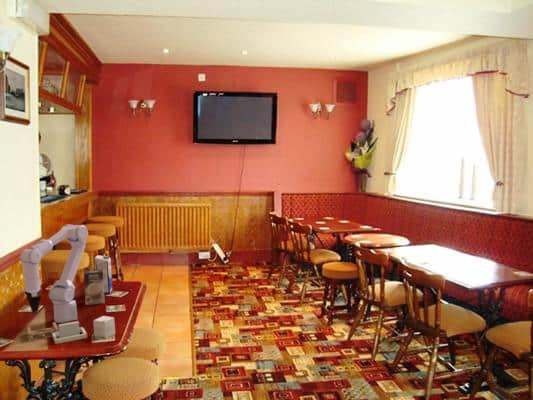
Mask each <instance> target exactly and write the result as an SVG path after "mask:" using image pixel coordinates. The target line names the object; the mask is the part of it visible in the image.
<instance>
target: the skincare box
mask: <svg viewBox="0 0 533 400" xmlns="http://www.w3.org/2000/svg"><path fill="white" fill-rule="evenodd" d="M92 322H93V334H94V335H93V336H94V337H102V338H110V337H112V336H114V335H115V334H116V325H115V317H114V316H106V315H102V316H99V317H98V318H95V319H94V320H93V321H92Z"/></svg>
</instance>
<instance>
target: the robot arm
mask: <svg viewBox="0 0 533 400" xmlns="http://www.w3.org/2000/svg"><path fill="white" fill-rule="evenodd" d="M88 236H89V231H88V228H87V227H86V226H85V225H83V224H79V225H78V224H69V223H68V224H65V225H64V226H62V227H61V229H59V231H57V233H55V234H54V235H52V236H51V237H50V238H49V239H45V238H44V239H40V240H39V242H37V243H35V244H34V245H31V246H30V248H25V249H23V250H22V251H21V253H20V256H19V257H18V258H19V261H20V262H21V263H22V267H23V277H24V288H22V289H21V292H24V293H25V297H26V299H27V301H28V304H29V306H30V309H31V313H38V311H39V306H40V301H41V299H42V294H39V292H40V290H41V282H40V280H41V279H40V269H39V268H40V266H39V264H40V262H41V260H42V258H43V257H44V256H45V255H47V254H49V253H50V252H51V251H53V247H54V246H56V245H57V244H59V243H61V242H62V241H64V240H65V239H66V240H67V242H69V244H70V246H71V249H70V251H69V254H68V256H67V258H66V262H65V265H64V267H63V270H62V273H61V274H60V275H61V276H60V278H59V280H56V282H54V284H53V286H52V287H51V288H50V290H49V292H48V297H49V299H50V300H51V303H52V304H53V317H54V322H55V323H56V324H57V323H58V324H59V323H60V324H64V323H69V322H71V321H72V322H73V321H75V320H76V321H78V309H77V303H76V300H75V299H74V297H75V290H76V286H75V285H74V283H73V282H74V278H75V276H76V274H77V270H78V268H79V265H80V262H81V259H82V257H83V254H84V252H85V248H86V244H87V243H86V242H87V238H88ZM73 299H74V300H73Z"/></svg>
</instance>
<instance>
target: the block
mask: <svg viewBox="0 0 533 400" xmlns="http://www.w3.org/2000/svg"><path fill="white" fill-rule="evenodd" d="M79 328H80V322H79V320H76V321H72V322H71V321H70V322H64V323H60V324H58V332H59V336H58V339H60V338H65V337H70V336H75V335H80V333H81V332H79Z"/></svg>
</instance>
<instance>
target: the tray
mask: <svg viewBox="0 0 533 400" xmlns="http://www.w3.org/2000/svg"><path fill="white" fill-rule="evenodd" d="M79 333H82V334H80V335H75V336H70V337H65V338H59V331H58V332H55V333H52V338H53V341H54V344H55V345H57V344H62V343H68V342H73V341H78V340H82V339H88V333H87V332H86V330H85V328H84V327H83V326H81V327H79ZM57 337H58V338H57Z"/></svg>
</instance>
